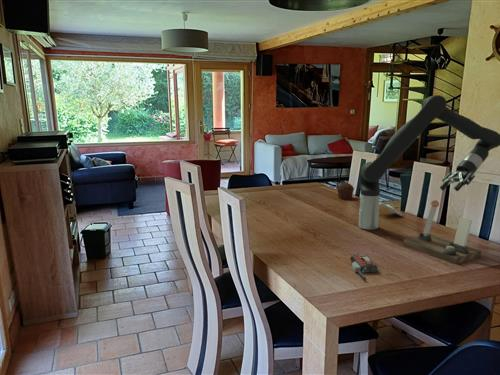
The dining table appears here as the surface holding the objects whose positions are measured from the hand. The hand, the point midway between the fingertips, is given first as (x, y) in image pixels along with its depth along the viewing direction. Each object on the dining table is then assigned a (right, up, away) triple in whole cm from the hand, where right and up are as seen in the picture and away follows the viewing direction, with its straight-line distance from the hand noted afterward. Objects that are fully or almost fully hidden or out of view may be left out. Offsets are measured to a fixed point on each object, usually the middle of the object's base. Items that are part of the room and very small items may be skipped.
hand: (448, 189), depth 180 cm
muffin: (-26, -6, +87) cm, 91 cm away
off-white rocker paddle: (-6, -23, -20) cm, 31 cm away
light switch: (-12, -15, +44) cm, 48 cm away
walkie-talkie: (-47, -31, -30) cm, 64 cm away
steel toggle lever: (-13, -20, -6) cm, 25 cm away
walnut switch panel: (-9, -26, -12) cm, 30 cm away
